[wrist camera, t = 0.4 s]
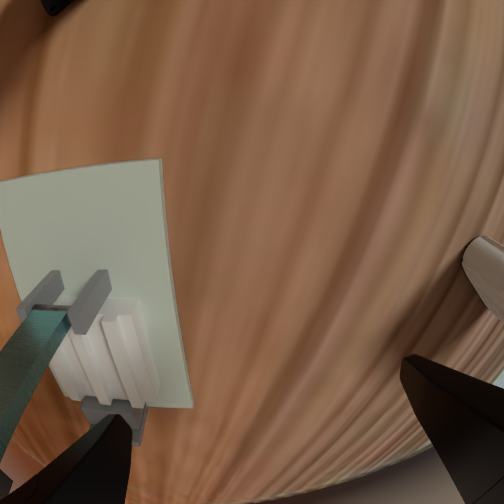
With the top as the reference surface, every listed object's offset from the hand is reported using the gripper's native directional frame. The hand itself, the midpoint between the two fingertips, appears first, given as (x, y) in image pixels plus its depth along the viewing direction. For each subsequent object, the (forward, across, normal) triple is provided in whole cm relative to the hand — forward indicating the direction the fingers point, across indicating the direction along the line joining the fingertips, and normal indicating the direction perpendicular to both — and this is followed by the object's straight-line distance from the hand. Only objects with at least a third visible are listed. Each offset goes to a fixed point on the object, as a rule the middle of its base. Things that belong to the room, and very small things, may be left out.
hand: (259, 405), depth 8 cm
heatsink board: (+14, -13, -3) cm, 19 cm away
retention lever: (+8, -12, 0) cm, 15 cm away
